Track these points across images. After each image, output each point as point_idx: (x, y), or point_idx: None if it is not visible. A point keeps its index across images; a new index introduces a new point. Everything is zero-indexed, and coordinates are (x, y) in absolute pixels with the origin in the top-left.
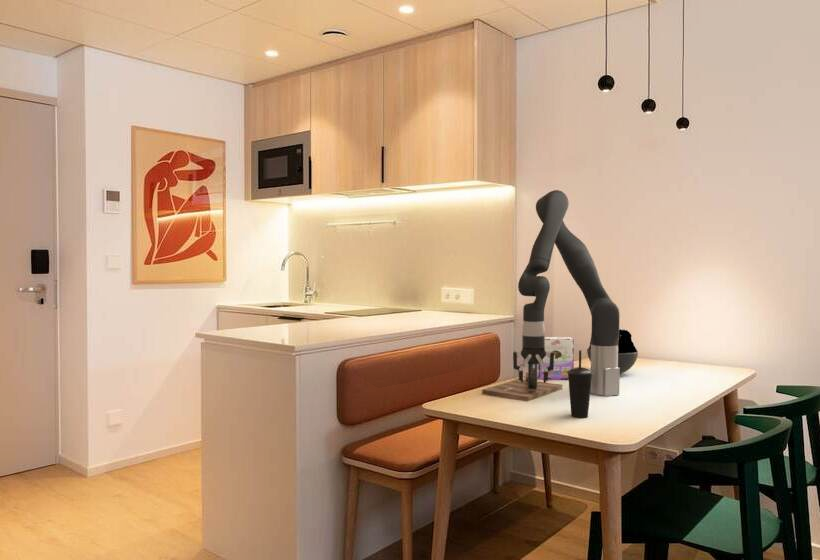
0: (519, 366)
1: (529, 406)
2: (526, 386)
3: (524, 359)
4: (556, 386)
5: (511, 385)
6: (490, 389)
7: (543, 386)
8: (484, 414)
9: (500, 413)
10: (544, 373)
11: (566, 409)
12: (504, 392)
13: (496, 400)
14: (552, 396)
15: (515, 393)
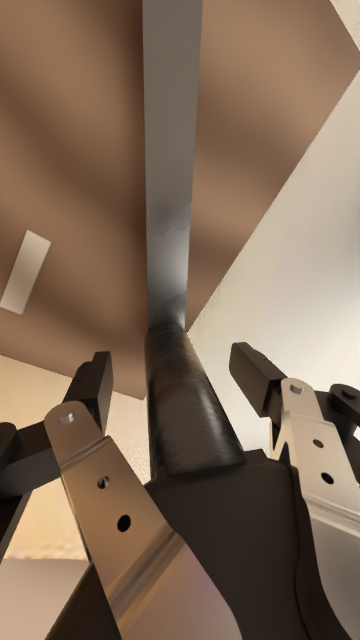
0: (49, 455)
1: (148, 441)
2: (131, 146)
3: (89, 533)
4: (312, 133)
5: (12, 109)
6: None
7: (239, 139)
8: (31, 535)
9: (72, 516)
10: (258, 409)
11: (243, 440)
12: (23, 347)
13: (16, 402)
14: (243, 290)
15: (84, 356)
